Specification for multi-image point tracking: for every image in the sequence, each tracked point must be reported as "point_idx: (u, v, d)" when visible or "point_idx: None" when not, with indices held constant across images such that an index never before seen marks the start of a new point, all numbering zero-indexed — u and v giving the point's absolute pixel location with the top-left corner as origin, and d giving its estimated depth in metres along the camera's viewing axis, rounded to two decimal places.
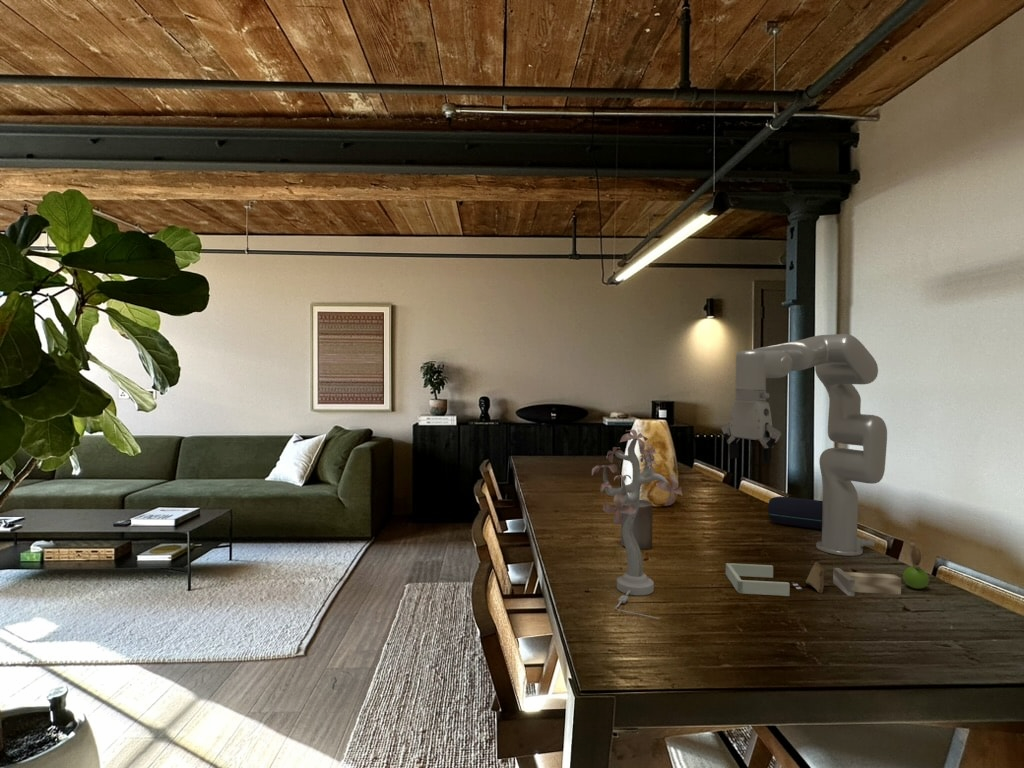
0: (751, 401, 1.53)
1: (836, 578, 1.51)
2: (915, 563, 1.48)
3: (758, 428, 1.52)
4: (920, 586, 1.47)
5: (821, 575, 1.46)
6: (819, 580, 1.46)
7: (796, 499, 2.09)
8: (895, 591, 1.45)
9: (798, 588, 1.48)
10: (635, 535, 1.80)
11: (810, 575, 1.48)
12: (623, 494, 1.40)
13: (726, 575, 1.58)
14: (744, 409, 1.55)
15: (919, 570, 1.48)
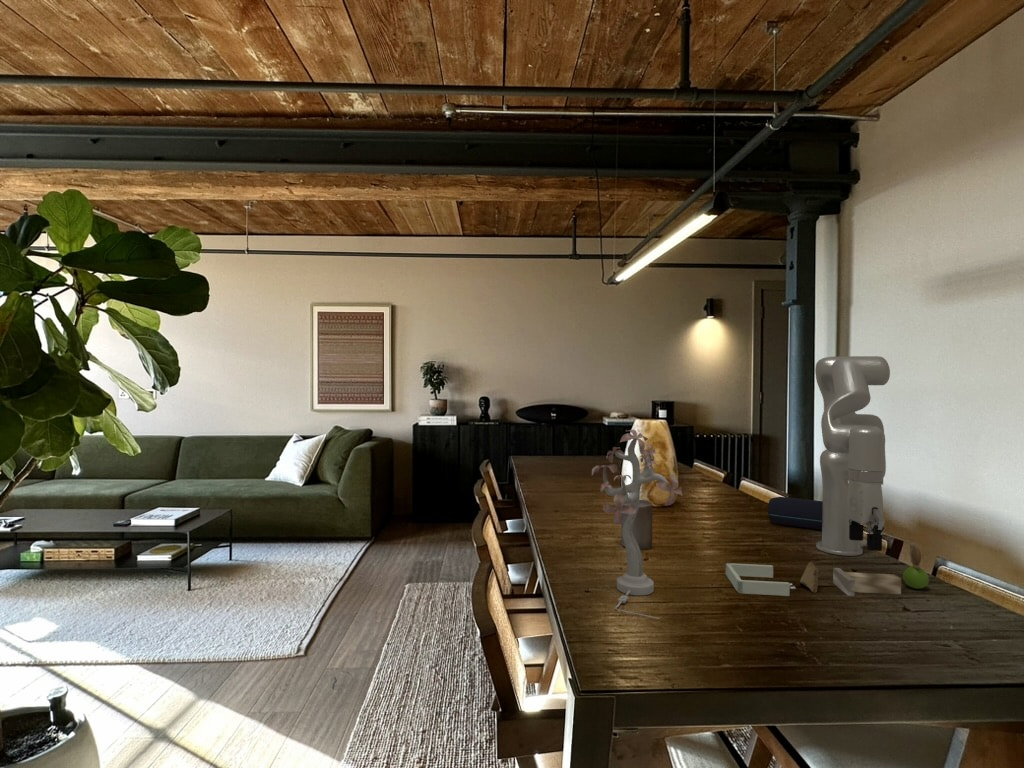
0: None
1: (836, 578, 1.51)
2: (915, 563, 1.48)
3: None
4: (920, 586, 1.47)
5: (815, 575, 1.46)
6: (813, 579, 1.46)
7: (796, 499, 2.09)
8: (895, 591, 1.45)
9: (792, 588, 1.48)
10: (635, 535, 1.80)
11: (804, 575, 1.49)
12: (623, 494, 1.40)
13: (726, 575, 1.58)
14: None
15: (919, 570, 1.48)
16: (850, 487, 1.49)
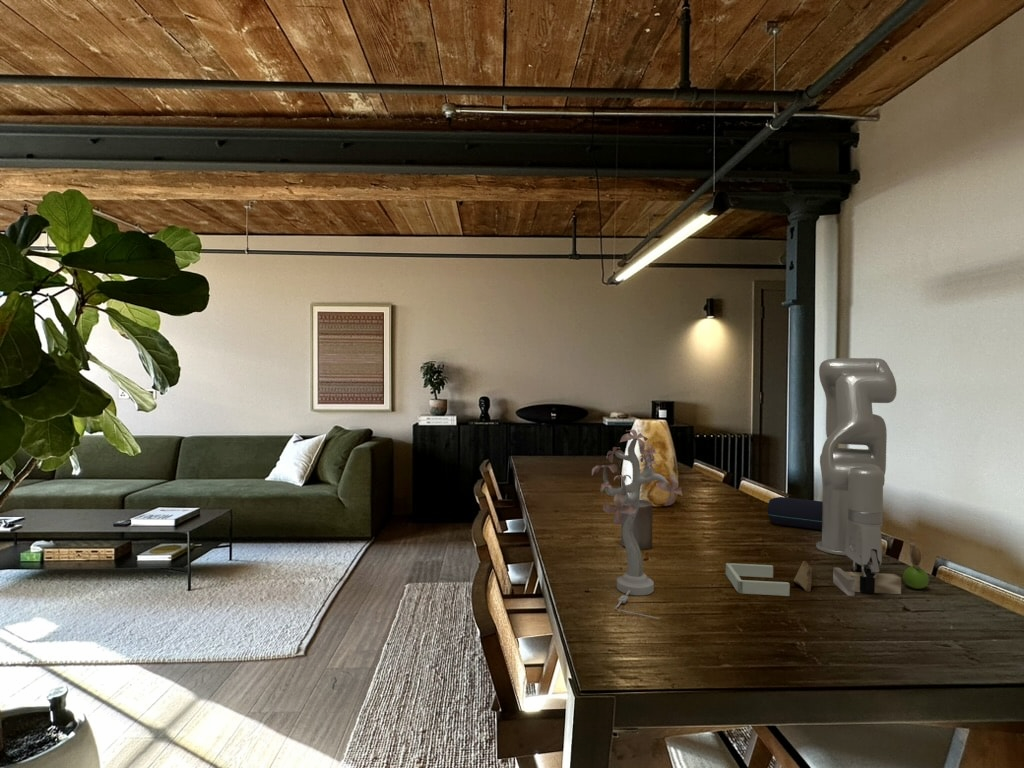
0: None
1: (836, 577, 1.50)
2: (915, 563, 1.48)
3: None
4: (920, 586, 1.47)
5: (809, 574, 1.47)
6: (806, 579, 1.47)
7: (796, 500, 2.08)
8: (895, 590, 1.45)
9: None
10: (635, 535, 1.80)
11: (798, 574, 1.49)
12: (623, 494, 1.40)
13: (726, 575, 1.58)
14: None
15: (919, 570, 1.48)
16: (850, 527, 1.49)
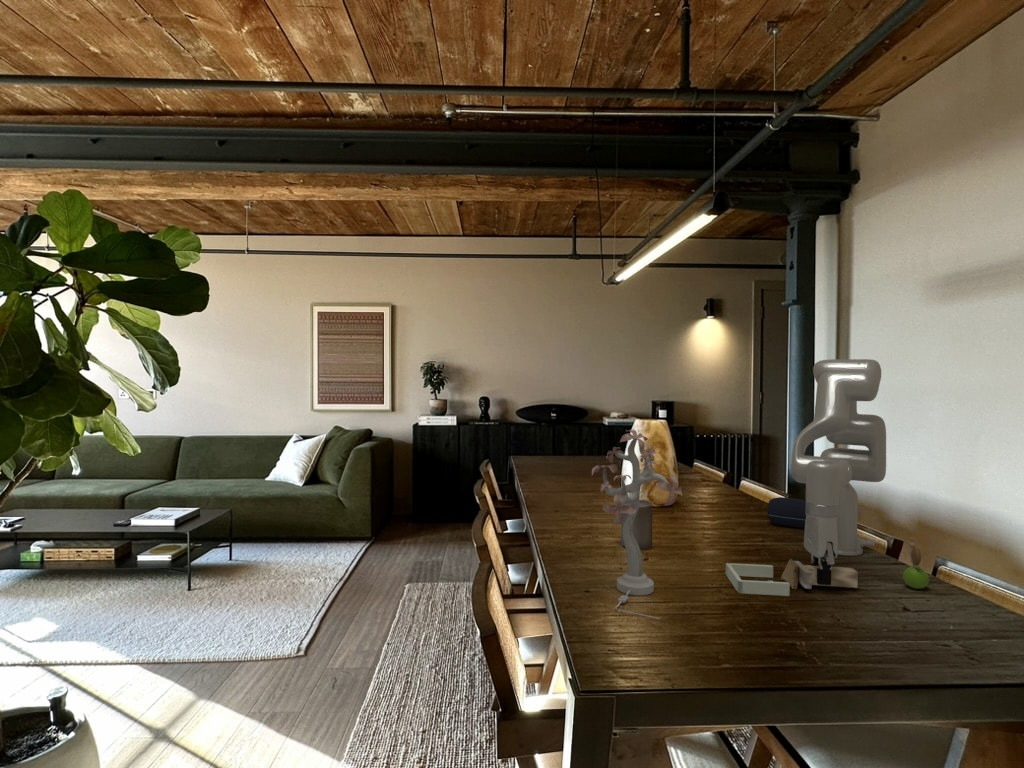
0: None
1: None
2: (915, 563, 1.48)
3: None
4: (920, 586, 1.47)
5: (795, 572, 1.49)
6: (793, 576, 1.48)
7: (796, 500, 2.08)
8: (852, 584, 1.47)
9: None
10: (635, 535, 1.80)
11: (785, 572, 1.51)
12: (623, 494, 1.40)
13: (726, 575, 1.58)
14: None
15: (919, 570, 1.48)
16: (808, 519, 1.51)
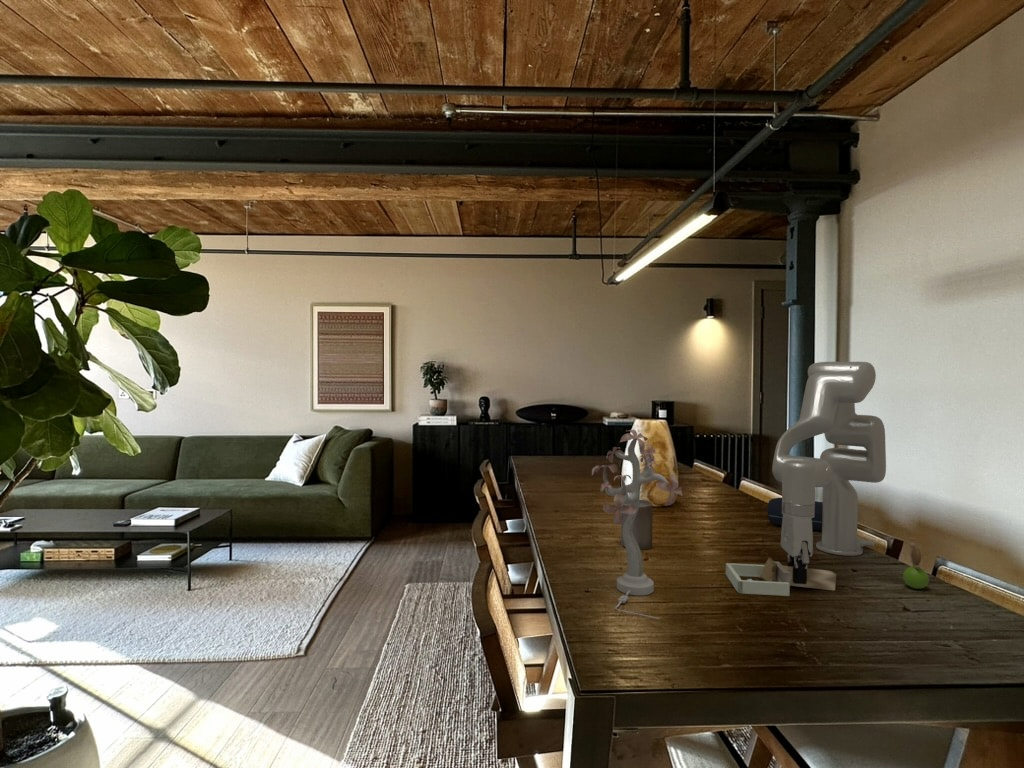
0: None
1: None
2: (915, 563, 1.48)
3: None
4: (920, 586, 1.47)
5: (774, 570, 1.50)
6: (771, 575, 1.49)
7: None
8: (829, 587, 1.47)
9: None
10: (635, 535, 1.80)
11: (763, 570, 1.52)
12: (623, 494, 1.40)
13: (726, 575, 1.58)
14: None
15: (919, 570, 1.48)
16: (784, 519, 1.51)
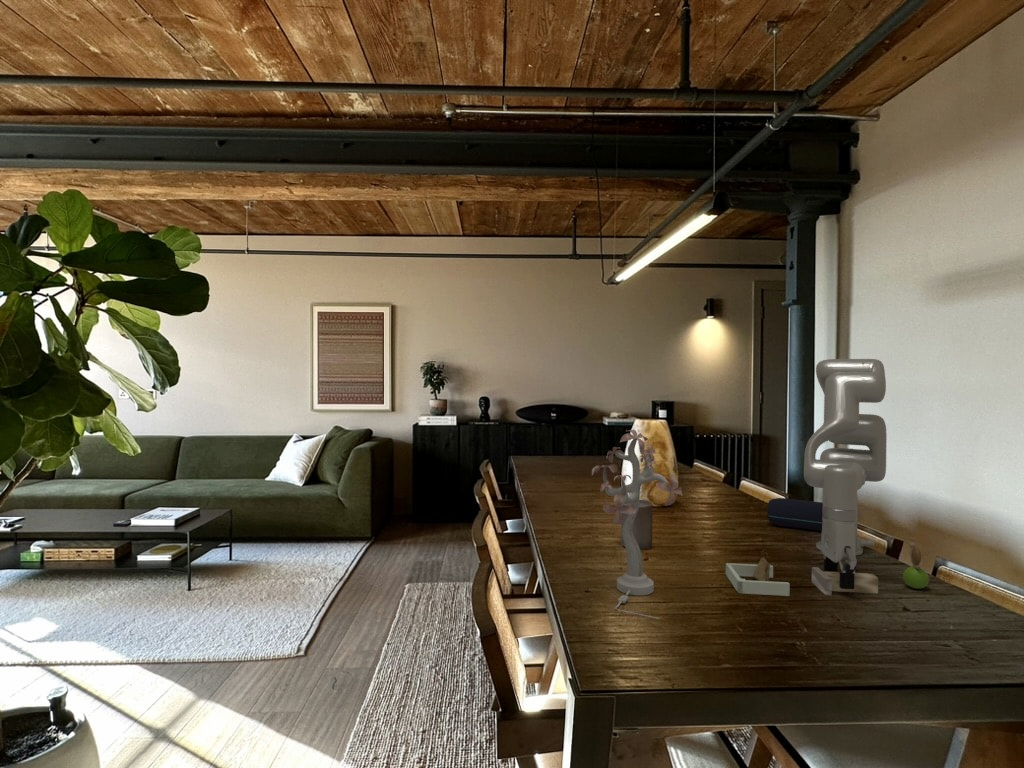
0: None
1: (814, 577, 1.51)
2: (915, 563, 1.48)
3: None
4: (920, 586, 1.47)
5: (766, 570, 1.50)
6: (764, 574, 1.50)
7: (795, 501, 2.07)
8: (872, 590, 1.46)
9: None
10: (635, 535, 1.80)
11: (756, 570, 1.52)
12: (623, 494, 1.40)
13: (726, 575, 1.58)
14: None
15: (919, 570, 1.48)
16: (825, 524, 1.50)
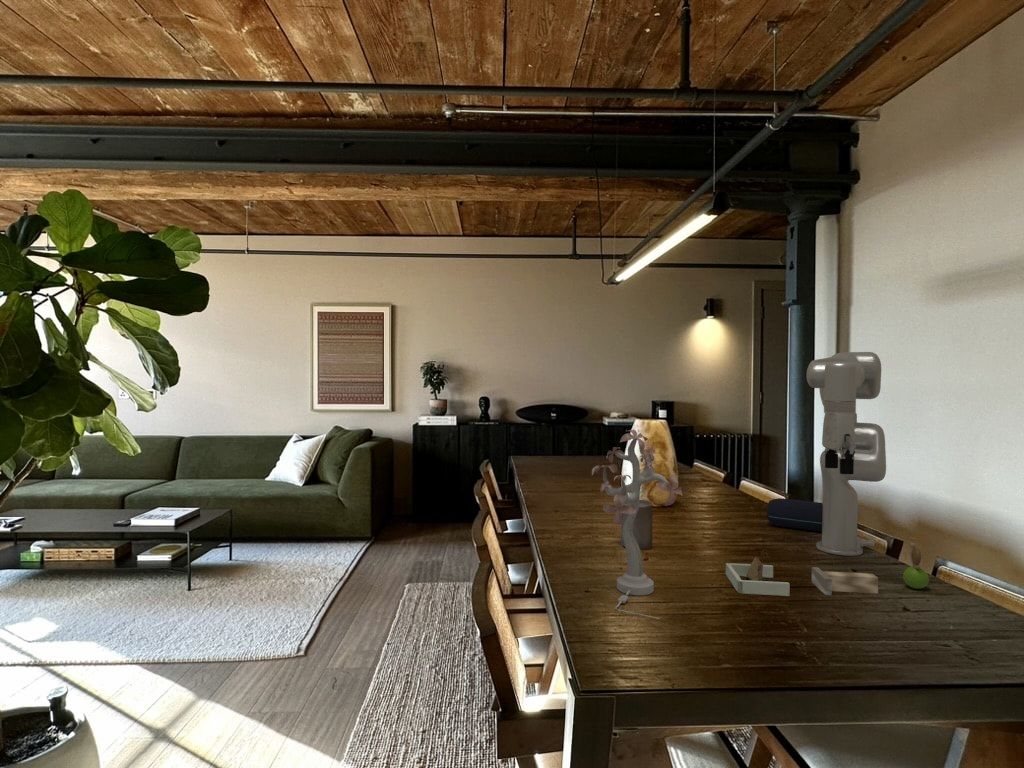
0: None
1: (814, 577, 1.51)
2: (915, 563, 1.48)
3: None
4: (920, 586, 1.47)
5: (759, 570, 1.50)
6: (757, 574, 1.50)
7: (795, 501, 2.06)
8: (872, 590, 1.46)
9: None
10: (635, 535, 1.80)
11: (750, 570, 1.52)
12: (623, 494, 1.40)
13: (726, 575, 1.58)
14: None
15: (919, 570, 1.48)
16: (826, 418, 1.60)
